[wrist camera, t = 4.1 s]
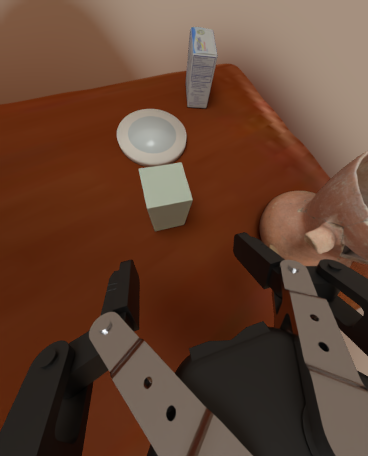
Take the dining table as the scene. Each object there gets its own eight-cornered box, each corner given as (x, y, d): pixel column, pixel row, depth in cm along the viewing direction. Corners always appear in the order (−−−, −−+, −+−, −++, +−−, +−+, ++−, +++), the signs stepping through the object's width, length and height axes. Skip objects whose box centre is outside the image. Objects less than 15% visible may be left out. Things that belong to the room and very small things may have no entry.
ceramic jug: (272, 299, 23) (431, 340, 9) (231, 216, 26) (304, 156, 12) (350, 256, 27) (543, 241, 13) (306, 188, 30) (425, 120, 16)
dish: (124, 172, 26) (122, 167, 25) (114, 118, 30) (112, 111, 28) (193, 161, 29) (194, 157, 27) (177, 112, 32) (177, 106, 31)
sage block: (154, 231, 24) (147, 208, 15) (148, 203, 25) (138, 168, 17) (184, 224, 25) (192, 199, 16) (177, 198, 26) (181, 162, 17)
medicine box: (206, 109, 33) (218, 55, 25) (186, 108, 33) (192, 52, 24) (203, 85, 35) (214, 28, 27) (185, 83, 35) (190, 25, 26)
